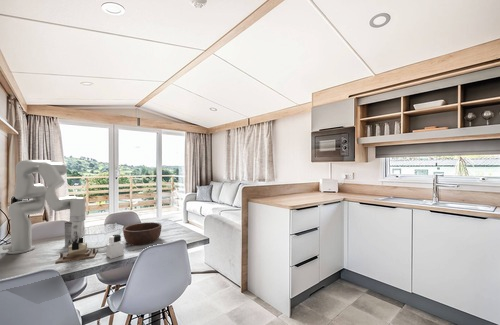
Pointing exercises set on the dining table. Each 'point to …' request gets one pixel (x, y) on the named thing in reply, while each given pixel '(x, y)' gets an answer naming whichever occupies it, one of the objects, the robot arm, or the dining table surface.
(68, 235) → the coffee box
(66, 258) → the keyed frame
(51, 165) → the robot arm
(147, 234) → the wooden bowl
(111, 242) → the medicine bottle
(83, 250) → the oak key block
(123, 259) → the dining table surface
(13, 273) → the dining table surface
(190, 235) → the dining table surface
